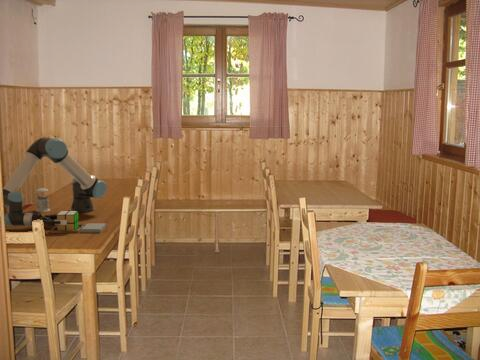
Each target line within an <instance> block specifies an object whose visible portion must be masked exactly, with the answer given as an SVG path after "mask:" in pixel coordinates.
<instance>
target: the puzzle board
mask: <svg viewBox="0 0 480 360" xmlns="http://www.w3.org/2000/svg"><path fill="white" fill-rule="evenodd" d="M78 224H79V226H81V227H78V228H77V229H76V230H57V225H55V226H53V227H52V228H51V229H50V230H49V234H53V233H54V234H58V233H59V234H79V233H81V229H82V228H83V227H84V226H85V225H86V224H87V223H86V224H85V223H81V224H80V223H78Z"/></svg>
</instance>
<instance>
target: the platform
mask: <svg viewBox="0 0 480 360" xmlns="http://www.w3.org/2000/svg"><path fill="white" fill-rule="evenodd" d="M106 228H107V223H104V222H103V223H102V222H101V223H96V222H95V223H94V222H93V223H92V222H91V223H89V222H88V223H86V225H85V226H84V227H83V228H82V229H81V231H80V233H92V234H93V233H97V234H98V233H99V234H100V233H102V232H103V231H104V230H105V229H106Z"/></svg>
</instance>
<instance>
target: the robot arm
mask: <svg viewBox="0 0 480 360" xmlns="http://www.w3.org/2000/svg"><path fill="white" fill-rule="evenodd" d="M43 158H48V159H49V160H50V161H52V162H53V163H54V164H58V165H59V166H61V168H62V169H63V170H65V171H66V172H67V173H68V174H69V175H70V176H71V177H72V178H73V179H72V184H71V185H72V202H71V205H70V211H78V214H79V213H89V212H93V211H95V206H94V204H93V201H92V198H94V199H101V198H103V197H104V196H105V195H106V194H107V190H108V189H107V187H108V186H107V184H106V182H105V181H104V180H100V179H98V178H97V176H95V175H94V174H89V172H88V171H87V170H86V169H85V168H83V166H81V164H80V163H78V161H76V159H74V158H73V156H71V155H70V154H69V149H68V146H67V144H66V142H65V141H63V140H61V139H60V138H54V137H53V138H50V137H41V138H38V139H37V140H35V141H33V143H32V144H31V145H29V147H28V149H27V150H26V151H25V156H24V157H23V159H22V161H21V162H20V163H19V165H18V166H17V168H16V169H15V170H14V172H13V173H12V175H11V176H10V177H9V179H8V181H7V182H6V183H5V185H4V187H3V188H2V189H3V195H4V206H3V207H5V208H8V212H6V213H5V215H4V223H5V225H6V226H11V227H12V226H13V227H22V226H23V227H24V226H25V227H28V228H29V227H32V221H33V220H37V219H40V220H43V222H44V226H51V227H55V226H57V225H67V220H57V216H56V215H57V214H58V213H55V214H54V213H53V214H45V215H44V216H43V215H42V212H24V208H23V207H24V206H23V204H24V203H23V201H24V199H23V194H22V192H19V189H20V188H21V186H22V185H23V184H24V182H25V180H26V179H27V178H28V176H29V174H30V173H31V171H32V170H33V169H34V167H35V166H36V165H37V164H38V163H39V162H40V161H41V160H42V159H43Z"/></svg>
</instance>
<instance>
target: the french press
mask: <svg viewBox="0 0 480 360" xmlns="http://www.w3.org/2000/svg"><path fill="white" fill-rule="evenodd" d="M39 176H40V177H41V181H43V176H44V174H42V173H40V174H39ZM35 192H37V193H35V194H34V195H33V197H34V201H33V202H34V203H35V204H36V209H35V212H36V213H43V212H44V213H45V212H50V211H51V209H50V202H49V201H50V200H49V196H48V195H47V194H46V195H43V194H41V195H39V193H44V192H45V193H46V192H49V189H47V188H45V187H40V188H37V189H36V190H35Z"/></svg>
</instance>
